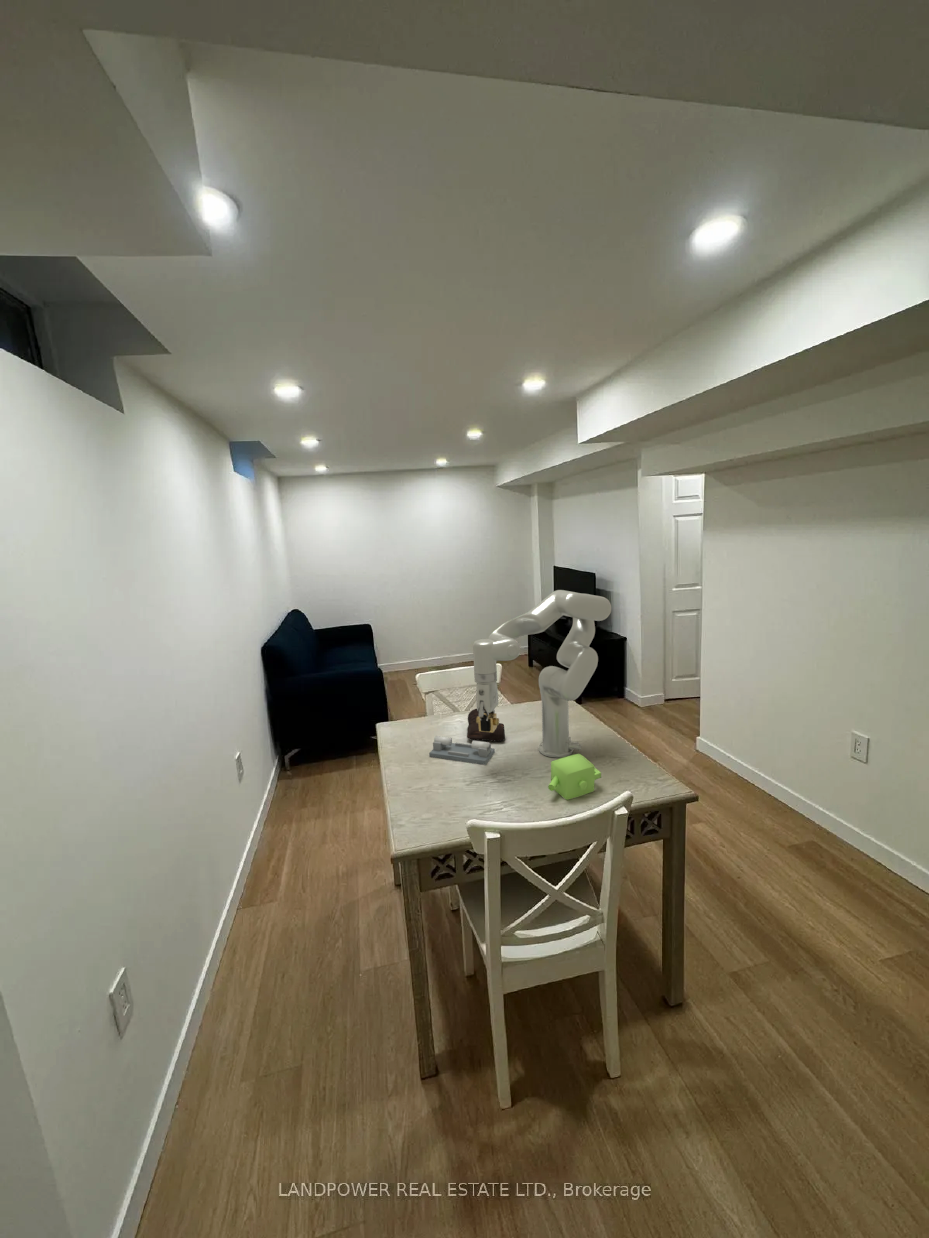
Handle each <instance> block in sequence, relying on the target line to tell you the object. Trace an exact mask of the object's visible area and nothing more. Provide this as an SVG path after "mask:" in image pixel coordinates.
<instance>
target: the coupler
mask: <svg viewBox="0 0 929 1238" xmlns="http://www.w3.org/2000/svg"><path fill="white" fill-rule="evenodd" d="M484 715H486V713H484ZM497 715H498V714H497V713H489V720H490V732H492V733H493V732H494V731H495V729H496V728H497V725H499V723H500V718H499V717H497ZM476 723H478V724H479V731H481V724H480V717H479V716H477V718H476ZM483 732H486V731H483Z"/></svg>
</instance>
